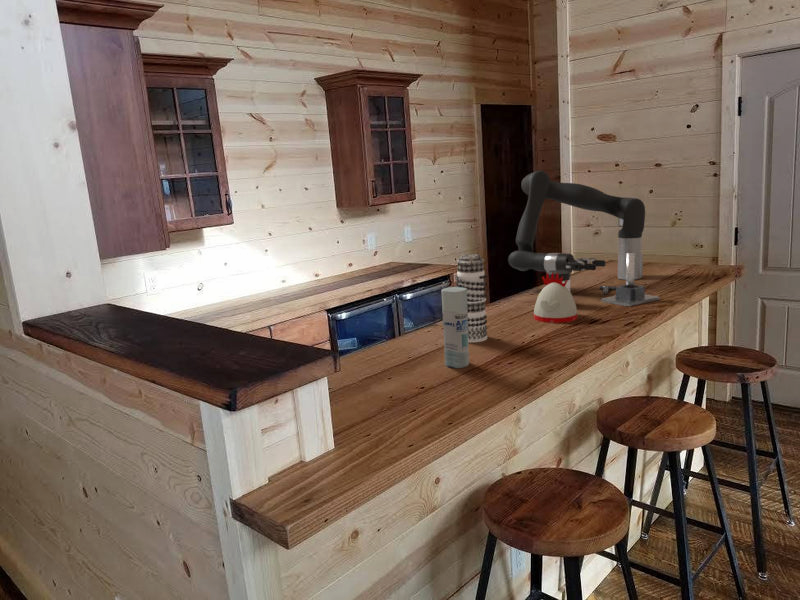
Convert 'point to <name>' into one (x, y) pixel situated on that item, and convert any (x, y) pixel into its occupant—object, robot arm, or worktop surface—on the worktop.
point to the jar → (561, 273)
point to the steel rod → (630, 270)
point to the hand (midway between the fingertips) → (600, 265)
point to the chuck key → (607, 288)
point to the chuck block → (630, 296)
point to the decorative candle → (474, 294)
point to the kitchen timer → (555, 302)
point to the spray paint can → (455, 326)
